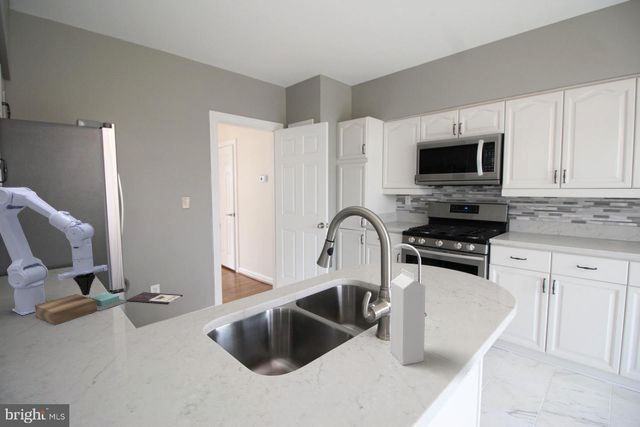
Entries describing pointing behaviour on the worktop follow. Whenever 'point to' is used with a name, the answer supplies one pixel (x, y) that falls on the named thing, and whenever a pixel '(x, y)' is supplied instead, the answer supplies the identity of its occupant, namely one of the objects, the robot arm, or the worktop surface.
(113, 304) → the mat
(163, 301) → the chocolate bar
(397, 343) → the milk
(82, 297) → the brown flat block
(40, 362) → the worktop surface
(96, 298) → the teal rectangular block
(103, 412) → the worktop surface
